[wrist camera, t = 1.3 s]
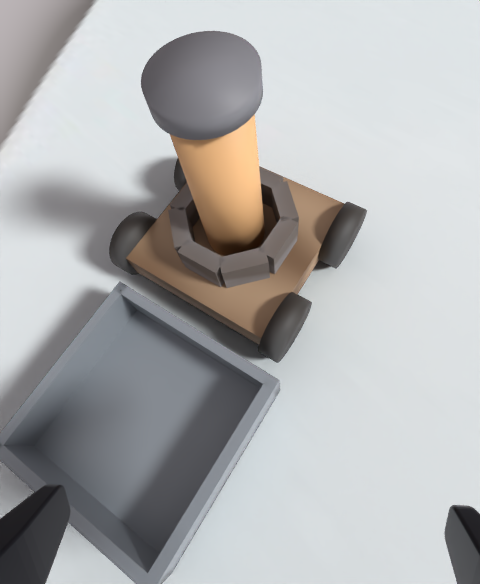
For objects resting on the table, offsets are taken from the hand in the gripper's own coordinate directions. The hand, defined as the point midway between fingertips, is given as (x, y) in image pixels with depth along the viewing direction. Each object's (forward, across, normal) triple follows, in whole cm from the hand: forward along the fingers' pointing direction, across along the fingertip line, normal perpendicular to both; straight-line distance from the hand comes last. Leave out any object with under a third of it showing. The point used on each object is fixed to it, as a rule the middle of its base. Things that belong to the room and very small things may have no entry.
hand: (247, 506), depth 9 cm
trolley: (+19, +2, 0) cm, 19 cm away
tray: (+12, +7, +8) cm, 15 cm away
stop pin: (+17, +2, -2) cm, 17 cm away
